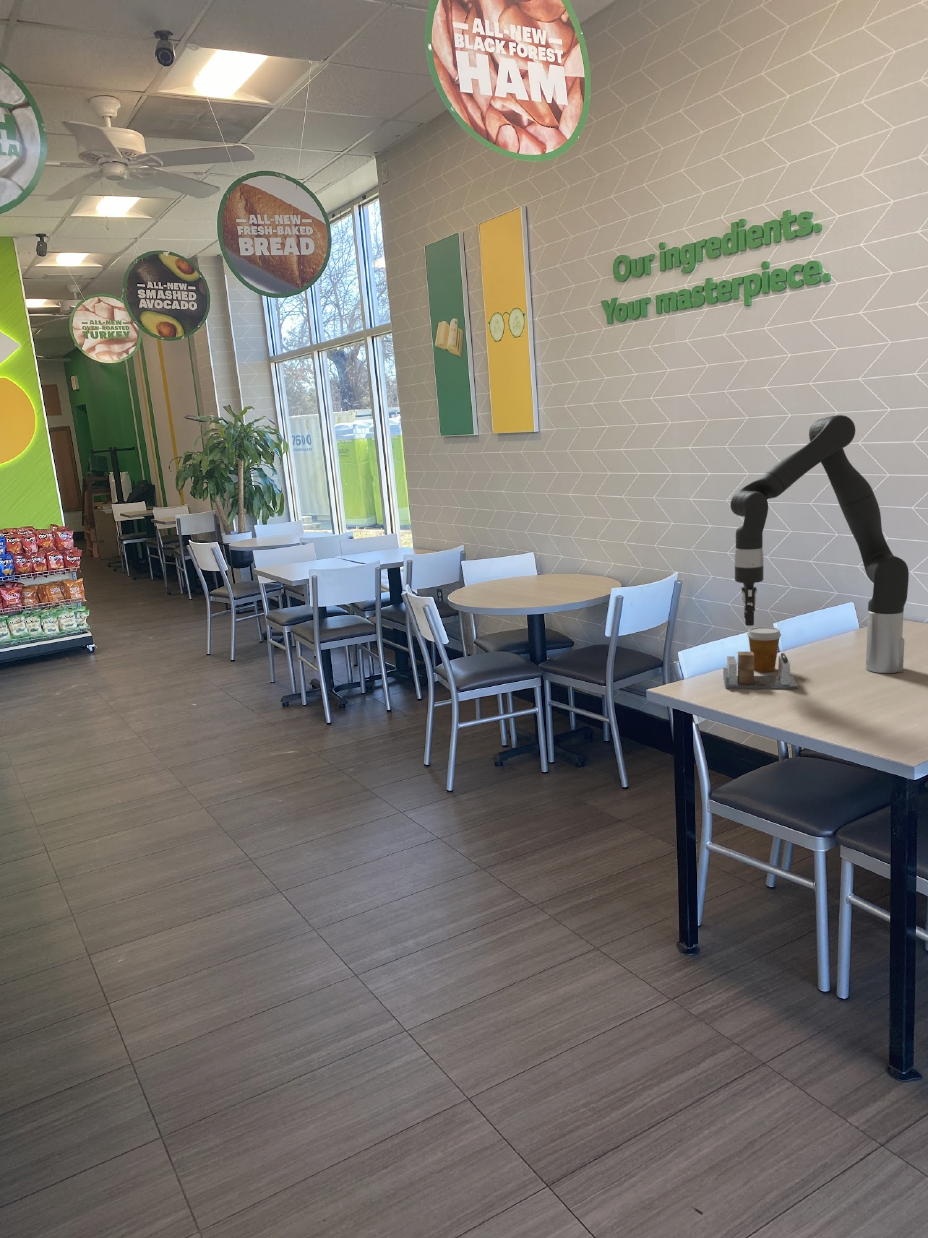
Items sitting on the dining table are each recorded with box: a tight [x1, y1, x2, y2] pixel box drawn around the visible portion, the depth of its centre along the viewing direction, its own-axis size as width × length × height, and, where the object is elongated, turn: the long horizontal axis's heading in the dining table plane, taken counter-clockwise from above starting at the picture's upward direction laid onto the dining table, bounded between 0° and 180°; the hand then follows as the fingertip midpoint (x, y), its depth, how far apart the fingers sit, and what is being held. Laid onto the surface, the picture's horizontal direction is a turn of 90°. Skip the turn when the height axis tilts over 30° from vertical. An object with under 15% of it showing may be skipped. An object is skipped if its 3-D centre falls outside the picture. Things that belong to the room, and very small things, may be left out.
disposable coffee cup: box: [746, 626, 782, 673], centre depth 265 cm, size 10×10×12 cm
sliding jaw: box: [777, 652, 791, 685], centre depth 251 cm, size 2×8×7 cm, turn 168°
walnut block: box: [737, 651, 755, 683], centre depth 253 cm, size 4×4×8 cm
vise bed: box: [722, 656, 799, 690], centre depth 252 cm, size 19×10×7 cm, turn 78°
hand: (749, 621), depth 250 cm, fingers open, 8 cm apart
